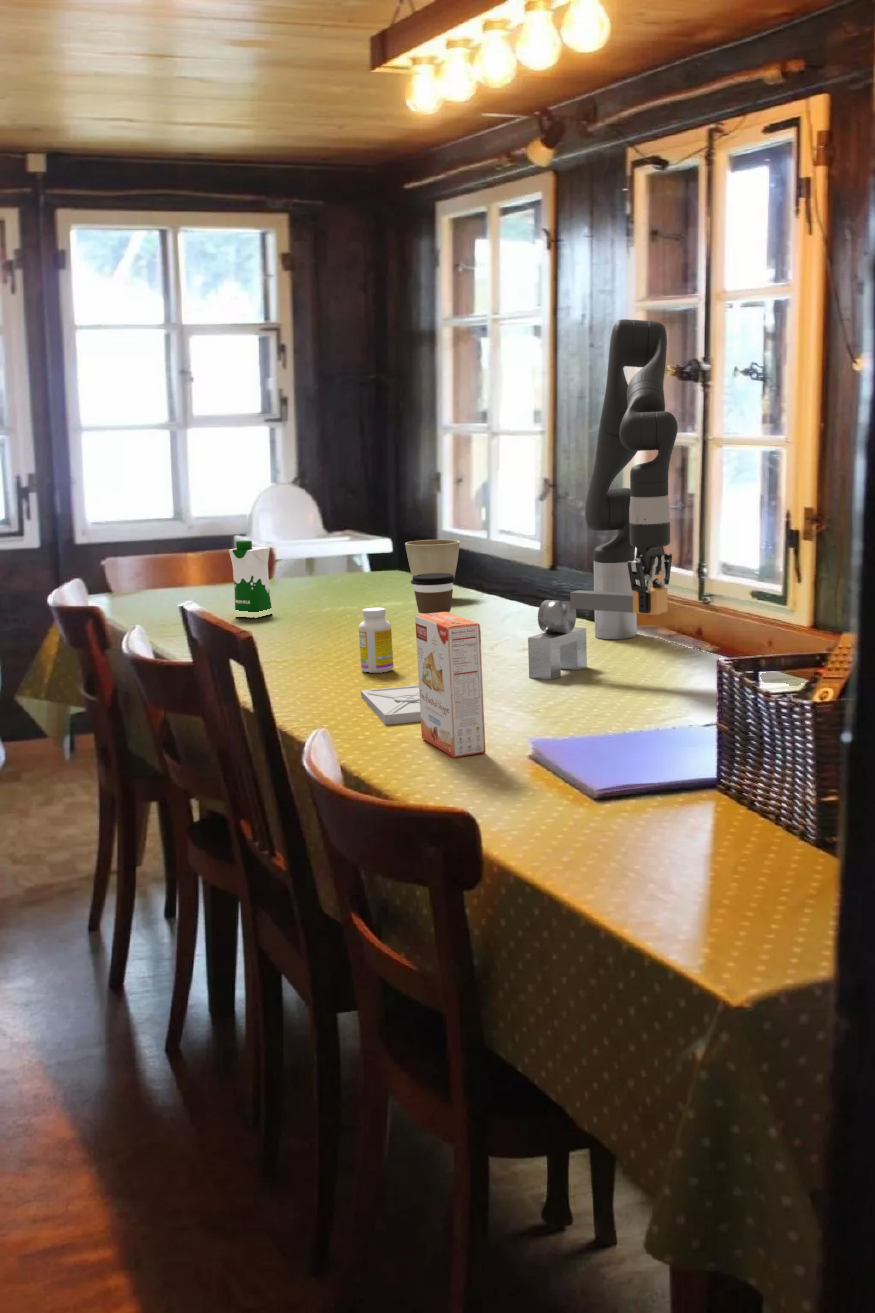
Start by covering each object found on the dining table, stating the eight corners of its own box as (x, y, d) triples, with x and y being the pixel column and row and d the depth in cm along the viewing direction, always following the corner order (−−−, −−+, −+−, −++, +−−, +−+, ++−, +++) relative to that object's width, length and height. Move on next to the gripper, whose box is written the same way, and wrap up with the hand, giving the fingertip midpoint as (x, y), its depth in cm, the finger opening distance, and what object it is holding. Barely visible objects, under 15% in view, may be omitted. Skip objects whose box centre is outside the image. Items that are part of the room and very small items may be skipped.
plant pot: (462, 602, 373) (459, 543, 370) (406, 605, 374) (404, 545, 371) (461, 594, 388) (459, 538, 385) (408, 596, 388) (406, 540, 385)
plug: (569, 609, 270) (568, 586, 270) (580, 605, 274) (579, 583, 273) (657, 614, 259) (656, 591, 258) (667, 611, 263) (667, 588, 262)
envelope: (431, 694, 265) (361, 700, 262) (431, 682, 265) (360, 689, 262) (462, 718, 242) (385, 726, 239) (462, 706, 242) (384, 713, 239)
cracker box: (419, 739, 228) (413, 613, 224) (453, 735, 230) (448, 610, 226) (451, 759, 215) (445, 625, 211) (486, 754, 217) (482, 622, 213)
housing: (565, 664, 284) (563, 595, 281) (586, 666, 281) (585, 596, 278) (529, 677, 273) (527, 605, 270) (550, 679, 270) (549, 606, 267)
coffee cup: (405, 627, 338) (403, 578, 336) (423, 620, 348) (420, 572, 346) (447, 628, 334) (445, 578, 332) (463, 621, 344) (461, 572, 341)
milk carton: (230, 618, 364) (224, 542, 360) (252, 612, 371) (247, 538, 368) (256, 619, 359) (250, 542, 355) (278, 614, 367) (273, 538, 363)
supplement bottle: (398, 667, 288) (395, 606, 286) (386, 674, 282) (383, 611, 280) (368, 667, 290) (365, 606, 288) (356, 673, 284) (352, 611, 282)
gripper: (650, 524, 251) (651, 617, 255) (685, 517, 263) (685, 606, 266) (613, 523, 256) (615, 615, 259) (649, 516, 267) (650, 604, 270)
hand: (651, 610), depth 262 cm, fingers closed on plug, 4 cm apart
